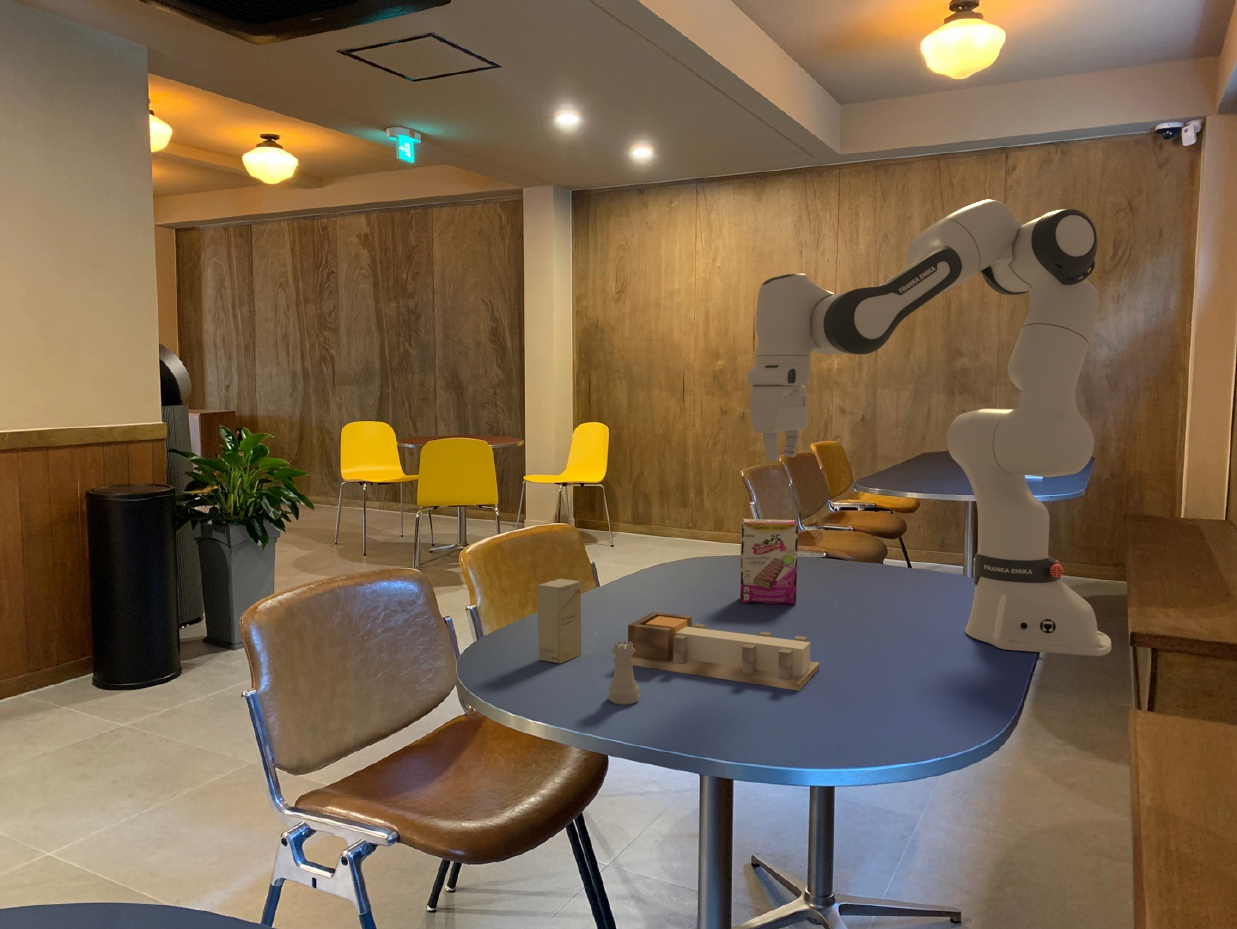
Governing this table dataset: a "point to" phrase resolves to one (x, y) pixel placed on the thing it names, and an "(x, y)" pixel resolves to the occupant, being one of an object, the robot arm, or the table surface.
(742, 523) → the candy bar box
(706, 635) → the orange tipped beige bar
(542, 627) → the skincare box
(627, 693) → the rook chess piece
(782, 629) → the table surface
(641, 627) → the rail
